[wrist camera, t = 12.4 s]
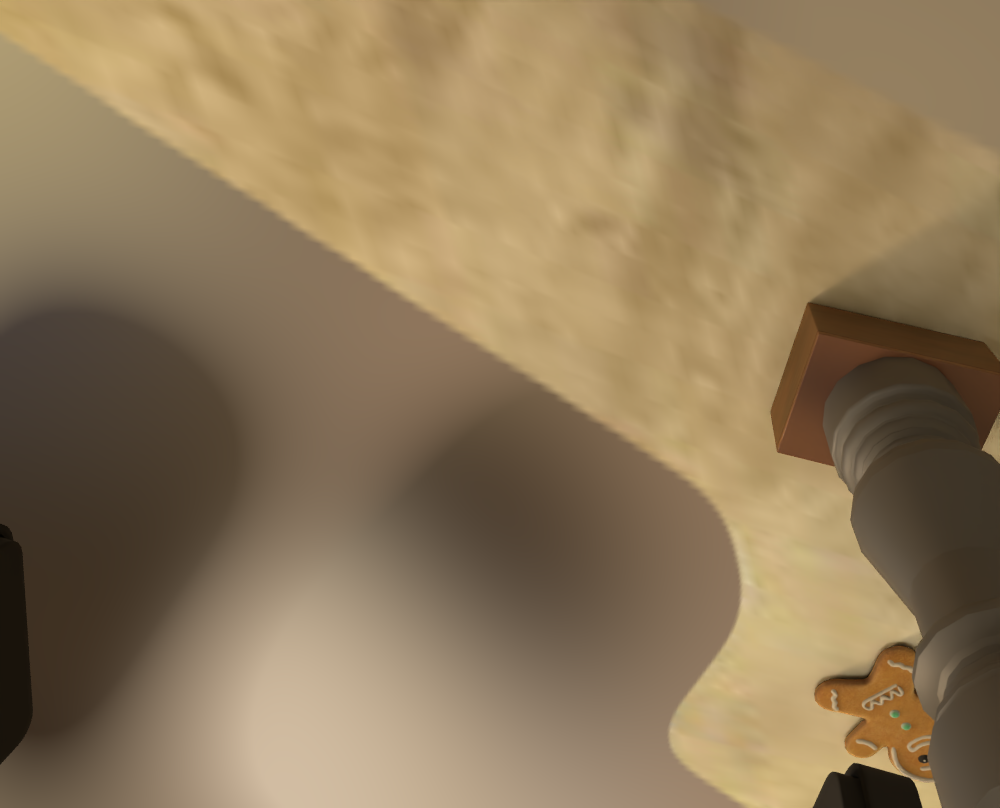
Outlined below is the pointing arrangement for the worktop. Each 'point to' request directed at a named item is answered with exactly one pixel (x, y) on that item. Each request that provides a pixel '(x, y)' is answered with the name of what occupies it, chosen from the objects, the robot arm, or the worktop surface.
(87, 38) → the worktop surface
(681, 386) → the worktop surface
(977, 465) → the candle holder
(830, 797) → the robot arm
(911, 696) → the cookie
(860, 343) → the brown wooden block
